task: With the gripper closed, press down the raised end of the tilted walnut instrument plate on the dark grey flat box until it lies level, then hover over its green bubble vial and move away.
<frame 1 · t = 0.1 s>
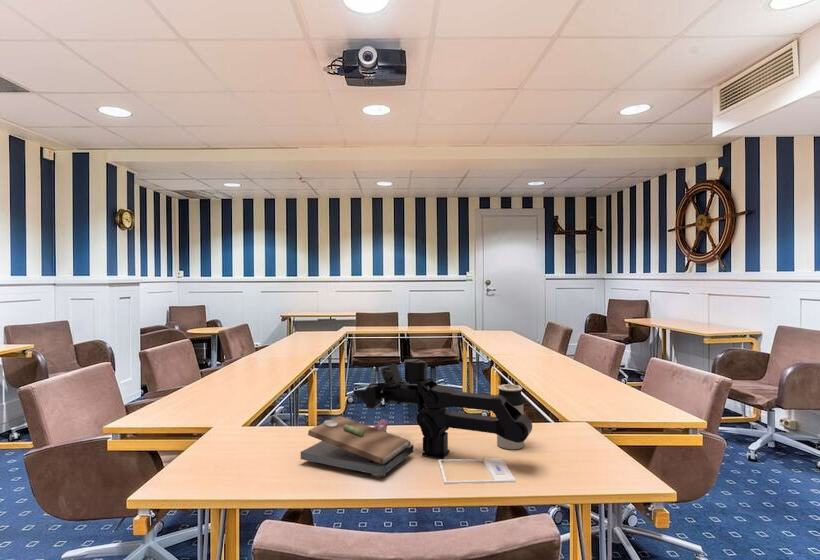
hand: (361, 389, 146), 17 cm above the table, tool horizontal, fingers open, 9 cm apart
travel mug: (510, 446, 141), on the table
photo frame: (474, 473, 122), on the table
purple lumpy shape: (378, 439, 148), on the table
instrument plate: (360, 435, 129), point 7 cm above the table, hinge at 10.0°
dark grey flat box: (358, 460, 130), on the table
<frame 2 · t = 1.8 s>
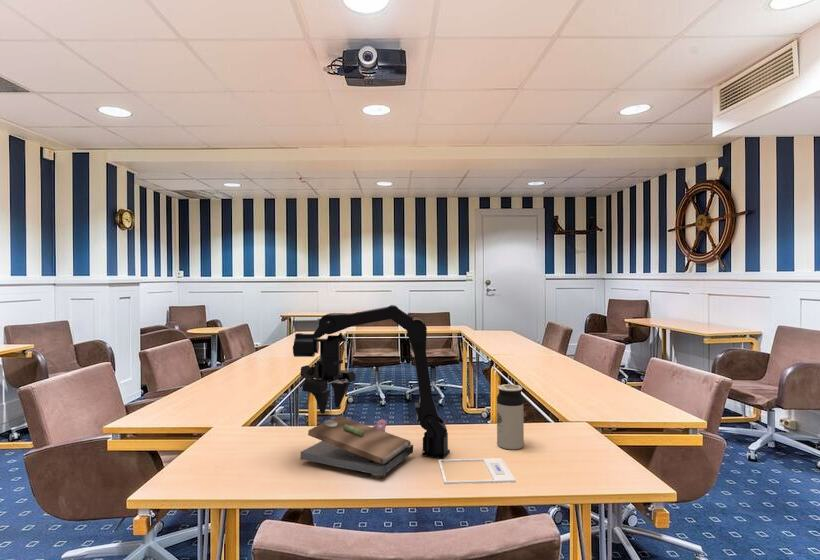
hand: (330, 410, 134), 13 cm above the table, tool pointing down, fingers open, 7 cm apart
nothing on the table moved.
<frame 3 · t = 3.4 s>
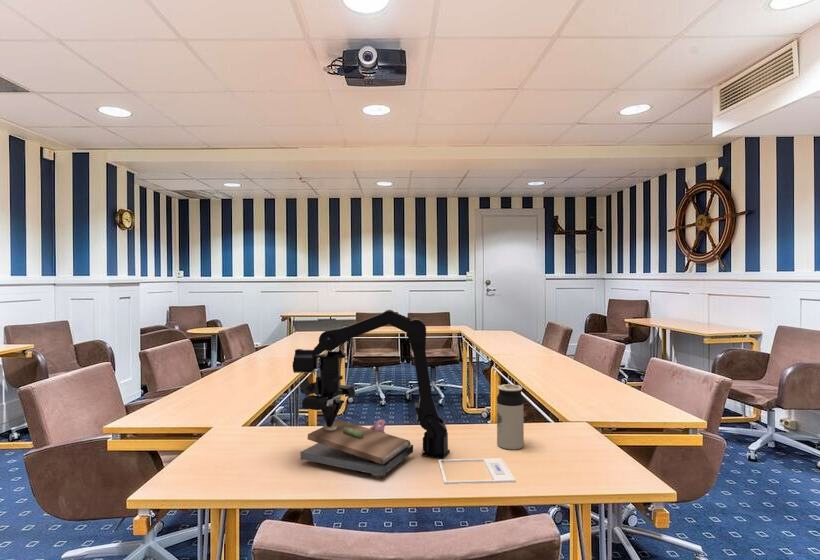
hand: (329, 426, 134), 8 cm above the table, tool pointing down, fingers closed, pressing on instrument plate
instrument plate: (359, 437, 129), point 7 cm above the table, hinge at 7.1°, touching gripper
everything else where it was.
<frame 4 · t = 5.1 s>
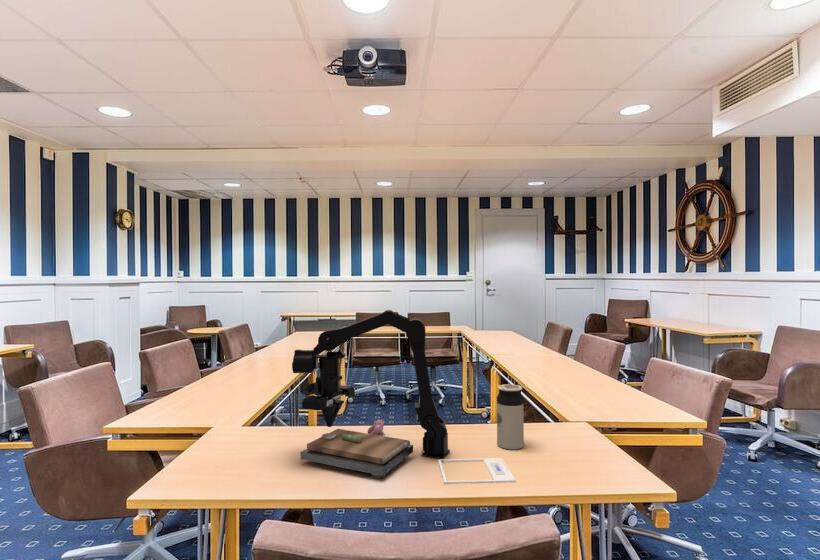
hand: (329, 426, 134), 8 cm above the table, tool pointing down, fingers closed
instrument plate: (359, 441, 129), point 5 cm above the table, hinge at 0.3°
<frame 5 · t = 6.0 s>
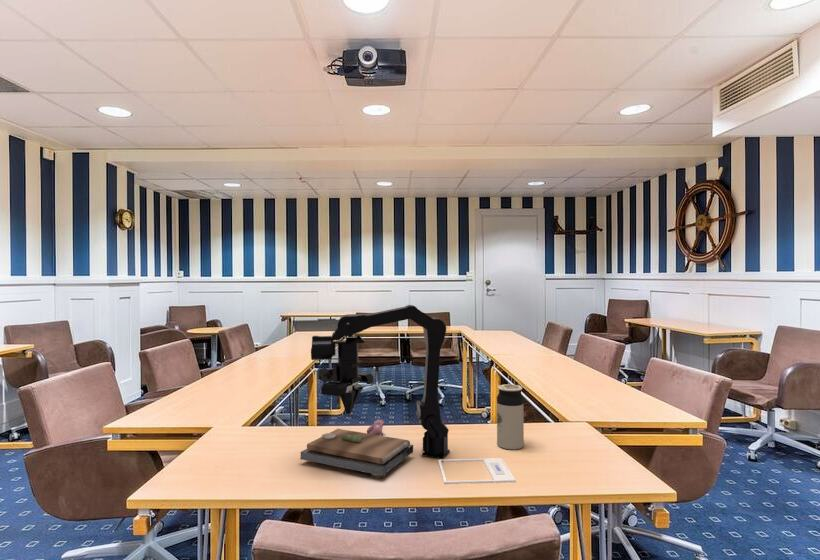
hand: (348, 413, 131), 13 cm above the table, tool pointing down, fingers closed
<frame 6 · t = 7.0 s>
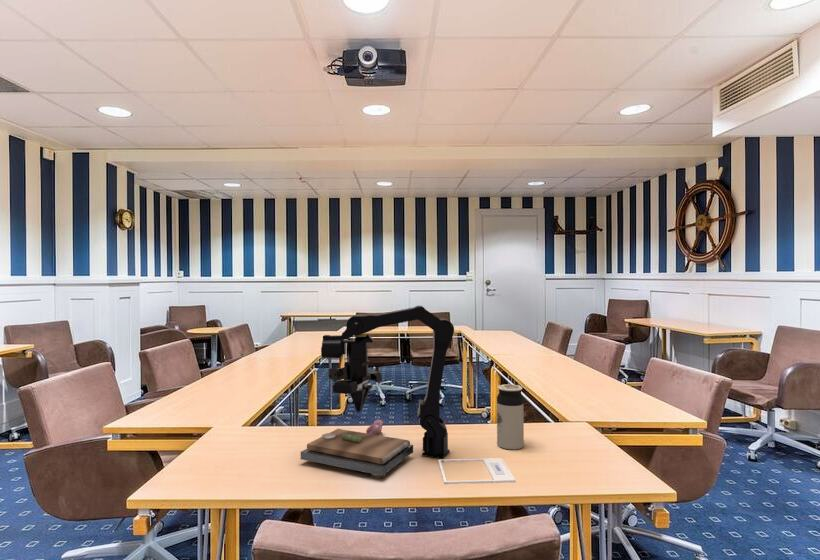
hand: (358, 411, 134), 13 cm above the table, tool pointing down, fingers closed
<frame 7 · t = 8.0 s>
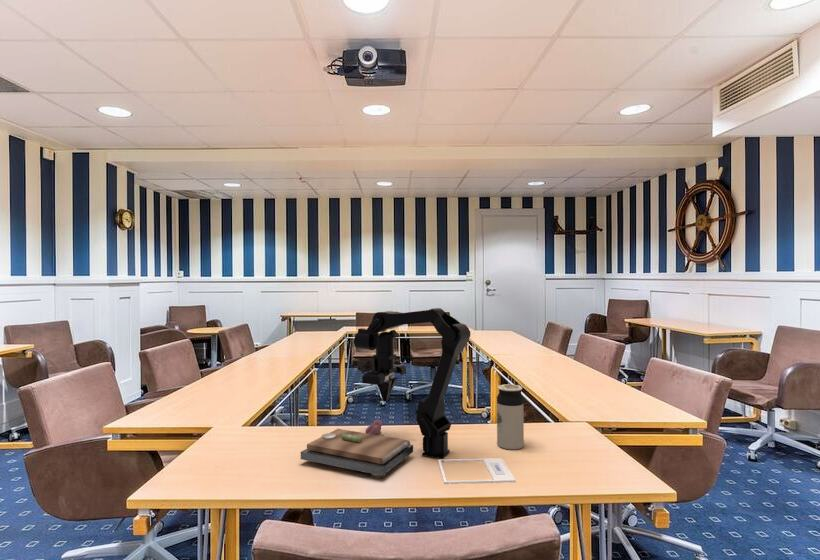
hand: (385, 401, 144), 13 cm above the table, tool pointing down, fingers closed
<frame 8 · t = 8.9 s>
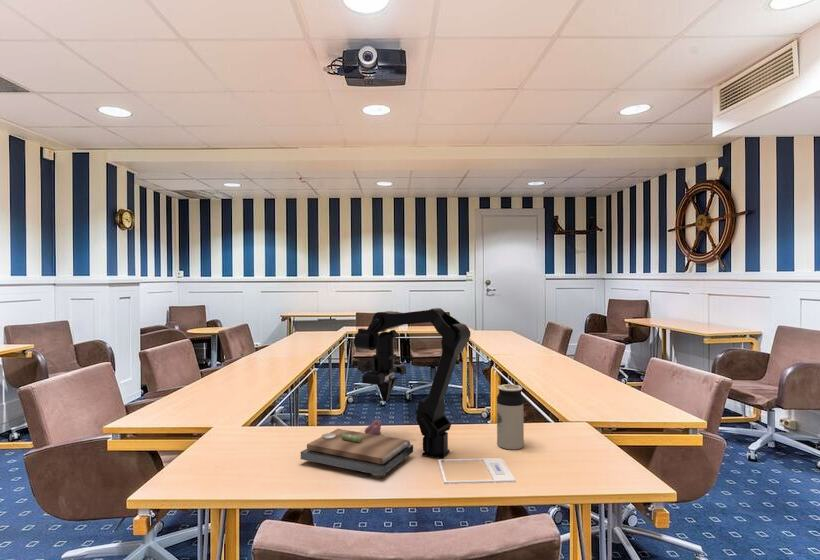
hand: (385, 401, 144), 13 cm above the table, tool pointing down, fingers closed
at the end: instrument plate at +0° (first picture: +10°) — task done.
